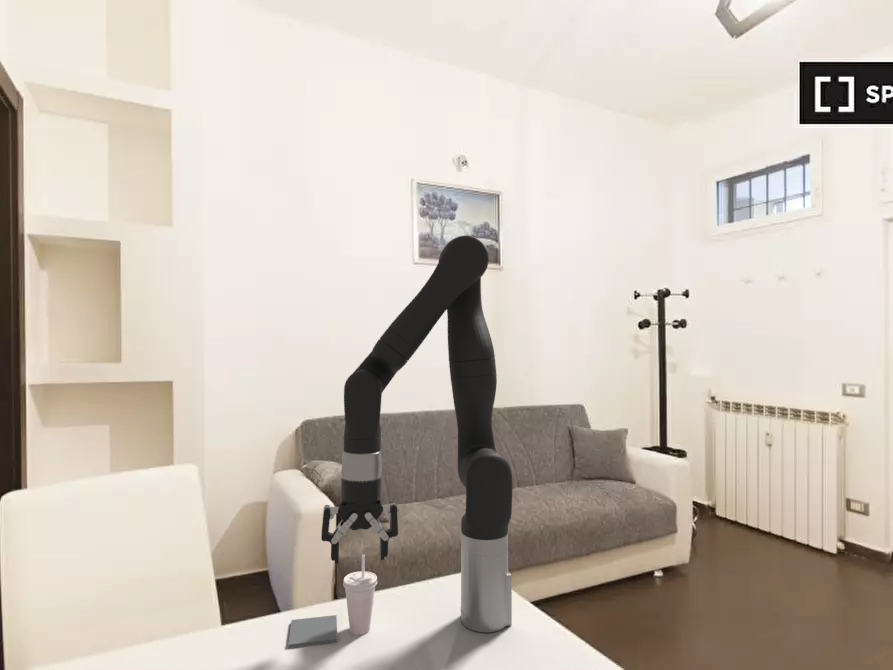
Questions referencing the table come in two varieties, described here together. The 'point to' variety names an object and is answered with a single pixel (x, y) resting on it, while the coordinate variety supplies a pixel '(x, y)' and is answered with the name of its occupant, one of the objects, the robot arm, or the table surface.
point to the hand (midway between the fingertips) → (359, 560)
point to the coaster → (313, 631)
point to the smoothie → (360, 599)
